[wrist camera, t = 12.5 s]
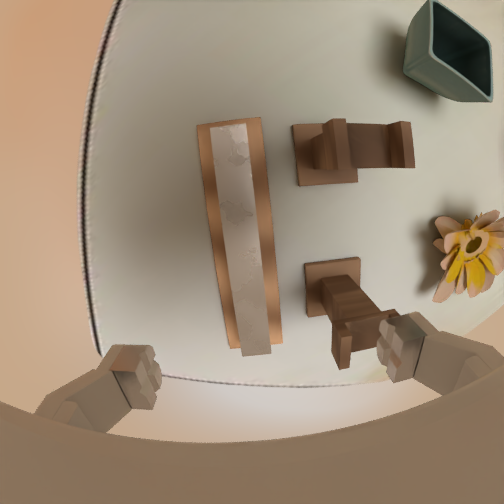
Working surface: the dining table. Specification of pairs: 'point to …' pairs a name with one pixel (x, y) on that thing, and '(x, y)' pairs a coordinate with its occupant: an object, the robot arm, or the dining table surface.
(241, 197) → the steel rail
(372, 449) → the robot arm
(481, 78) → the flower pot
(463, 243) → the decorative flower
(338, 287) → the walnut post
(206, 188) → the light wood flat board
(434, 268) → the dining table surface
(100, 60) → the dining table surface
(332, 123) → the walnut post
